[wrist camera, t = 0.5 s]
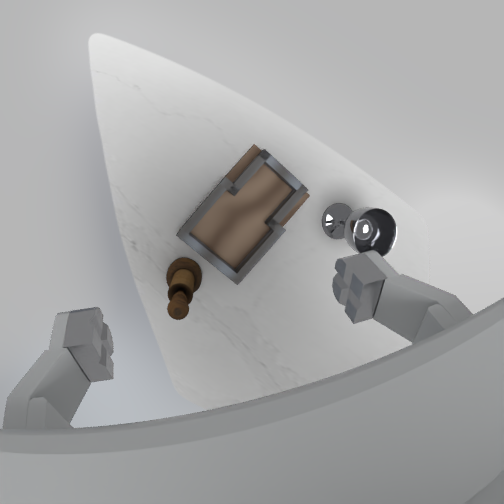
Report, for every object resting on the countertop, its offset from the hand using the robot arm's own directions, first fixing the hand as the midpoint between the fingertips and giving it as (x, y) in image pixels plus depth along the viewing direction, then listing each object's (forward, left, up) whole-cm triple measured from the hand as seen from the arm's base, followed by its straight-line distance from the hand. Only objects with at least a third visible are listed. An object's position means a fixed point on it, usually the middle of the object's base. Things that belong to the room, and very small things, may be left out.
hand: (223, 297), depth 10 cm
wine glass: (-22, -14, -49) cm, 55 cm away
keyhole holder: (-7, -3, -49) cm, 49 cm away
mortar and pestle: (-6, +13, -49) cm, 51 cm away
